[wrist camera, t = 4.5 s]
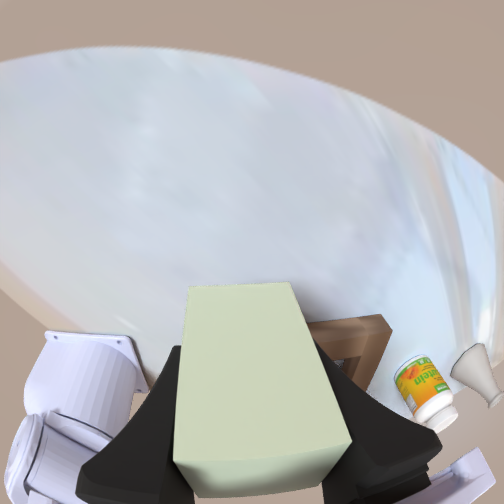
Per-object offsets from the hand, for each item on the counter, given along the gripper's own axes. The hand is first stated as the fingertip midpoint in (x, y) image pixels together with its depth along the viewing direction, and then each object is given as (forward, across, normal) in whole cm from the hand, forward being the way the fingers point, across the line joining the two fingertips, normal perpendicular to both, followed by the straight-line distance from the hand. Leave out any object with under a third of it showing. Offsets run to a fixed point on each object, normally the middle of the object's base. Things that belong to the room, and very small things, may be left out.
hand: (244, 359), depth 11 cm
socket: (+9, -8, +12) cm, 17 cm away
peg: (+2, 0, 0) cm, 2 cm away
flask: (+10, -36, +20) cm, 42 cm away
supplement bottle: (+10, -22, +17) cm, 29 cm away
